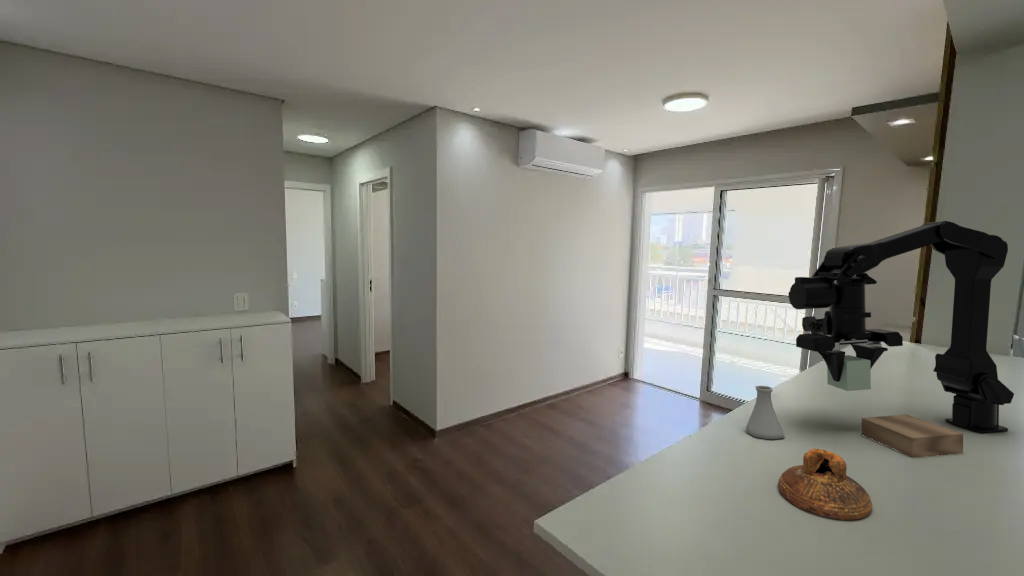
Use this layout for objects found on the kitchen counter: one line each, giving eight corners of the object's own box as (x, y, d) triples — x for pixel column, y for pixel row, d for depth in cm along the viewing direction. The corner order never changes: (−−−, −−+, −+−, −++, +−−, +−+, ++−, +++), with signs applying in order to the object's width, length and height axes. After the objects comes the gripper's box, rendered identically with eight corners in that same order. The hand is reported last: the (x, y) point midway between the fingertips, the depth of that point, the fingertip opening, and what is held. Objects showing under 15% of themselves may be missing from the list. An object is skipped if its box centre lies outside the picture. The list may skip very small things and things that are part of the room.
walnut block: (906, 433, 85) (906, 414, 85) (963, 455, 75) (963, 433, 75) (861, 437, 84) (861, 418, 84) (912, 459, 74) (912, 438, 74)
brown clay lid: (886, 504, 62) (886, 457, 61) (849, 533, 56) (849, 481, 56) (801, 472, 72) (800, 431, 72) (762, 493, 66) (761, 449, 66)
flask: (791, 441, 83) (790, 393, 83) (752, 440, 85) (751, 392, 84) (775, 427, 90) (775, 382, 90) (740, 426, 92) (739, 382, 91)
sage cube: (849, 382, 89) (849, 355, 89) (870, 389, 84) (870, 360, 84) (827, 384, 89) (827, 356, 89) (847, 391, 84) (846, 362, 84)
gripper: (856, 300, 94) (857, 367, 95) (777, 306, 93) (779, 373, 94) (905, 305, 83) (905, 381, 84) (815, 311, 82) (817, 387, 83)
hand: (848, 380), depth 87 cm, fingers closed on sage cube, 5 cm apart
